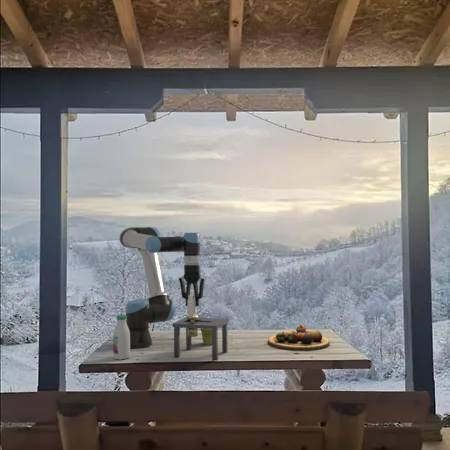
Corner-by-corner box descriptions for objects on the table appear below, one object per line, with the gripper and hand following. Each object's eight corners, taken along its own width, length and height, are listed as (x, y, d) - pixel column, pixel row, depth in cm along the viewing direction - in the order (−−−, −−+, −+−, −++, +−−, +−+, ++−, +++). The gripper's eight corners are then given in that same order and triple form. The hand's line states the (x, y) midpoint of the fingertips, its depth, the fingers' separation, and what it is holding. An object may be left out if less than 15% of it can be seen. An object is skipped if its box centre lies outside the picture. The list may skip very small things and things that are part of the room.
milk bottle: (131, 355, 236) (131, 313, 236) (128, 360, 228) (128, 316, 228) (115, 356, 235) (114, 314, 235) (112, 360, 228) (111, 317, 228)
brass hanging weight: (184, 336, 236) (184, 295, 236) (189, 334, 241) (188, 294, 241) (195, 337, 234) (195, 296, 234) (200, 334, 240) (199, 294, 240)
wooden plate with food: (283, 334, 280) (283, 320, 280) (337, 341, 264) (337, 325, 264) (257, 346, 253) (257, 330, 253) (316, 354, 236) (316, 337, 236)
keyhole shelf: (172, 357, 231) (172, 323, 231) (187, 348, 248) (186, 316, 249) (217, 361, 225) (216, 326, 225) (228, 351, 242) (228, 319, 242)
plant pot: (215, 346, 253) (215, 329, 253) (198, 345, 255) (197, 328, 255) (219, 342, 262) (219, 325, 262) (202, 341, 264) (202, 325, 264)
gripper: (174, 264, 237) (174, 313, 237) (204, 265, 232) (204, 315, 232) (180, 263, 244) (180, 311, 244) (209, 264, 239) (210, 312, 239)
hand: (192, 312), depth 238 cm, fingers closed on brass hanging weight, 2 cm apart
